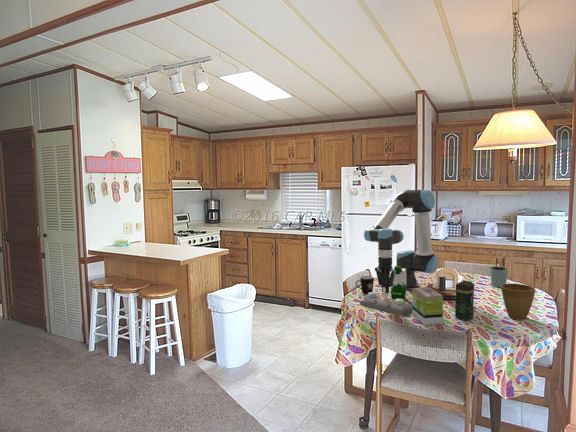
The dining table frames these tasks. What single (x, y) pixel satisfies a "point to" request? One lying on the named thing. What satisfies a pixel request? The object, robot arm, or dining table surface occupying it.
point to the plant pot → (517, 300)
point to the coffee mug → (366, 284)
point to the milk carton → (399, 284)
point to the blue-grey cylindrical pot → (498, 276)
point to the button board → (386, 305)
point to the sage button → (399, 301)
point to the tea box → (427, 306)
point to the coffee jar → (464, 300)
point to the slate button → (372, 295)
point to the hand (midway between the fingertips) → (385, 298)
